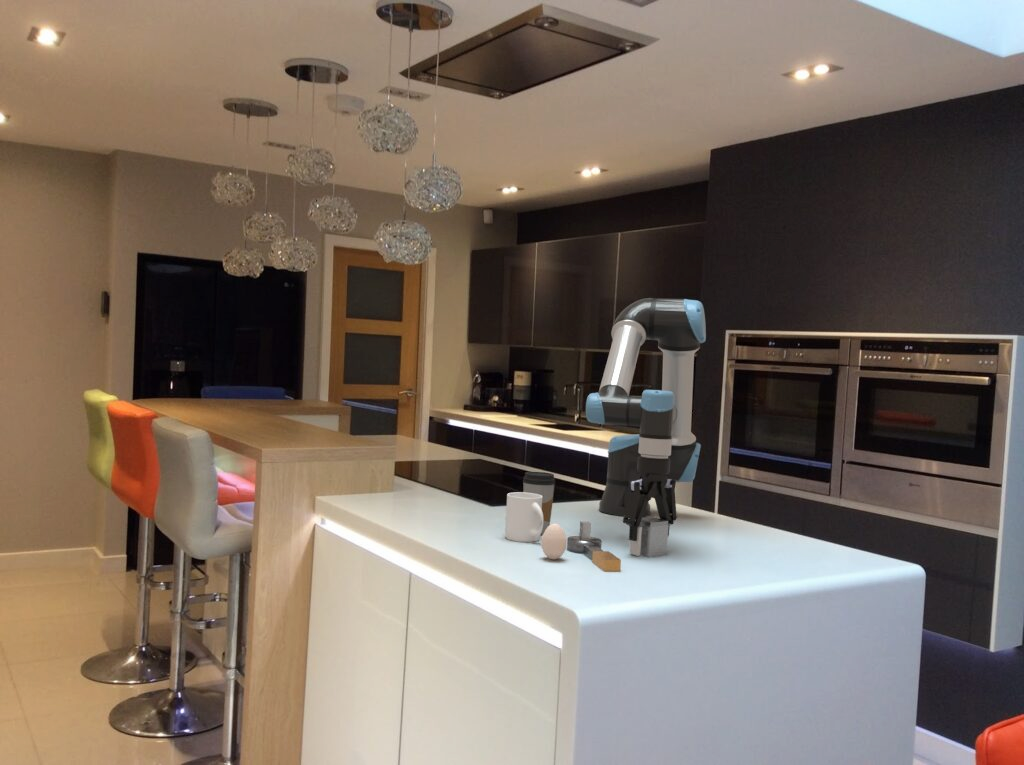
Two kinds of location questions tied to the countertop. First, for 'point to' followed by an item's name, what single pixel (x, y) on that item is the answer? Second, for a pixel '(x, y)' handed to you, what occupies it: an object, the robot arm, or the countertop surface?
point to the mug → (524, 517)
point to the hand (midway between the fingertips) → (648, 552)
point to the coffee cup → (541, 492)
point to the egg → (554, 541)
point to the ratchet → (592, 549)
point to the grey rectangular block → (653, 536)
